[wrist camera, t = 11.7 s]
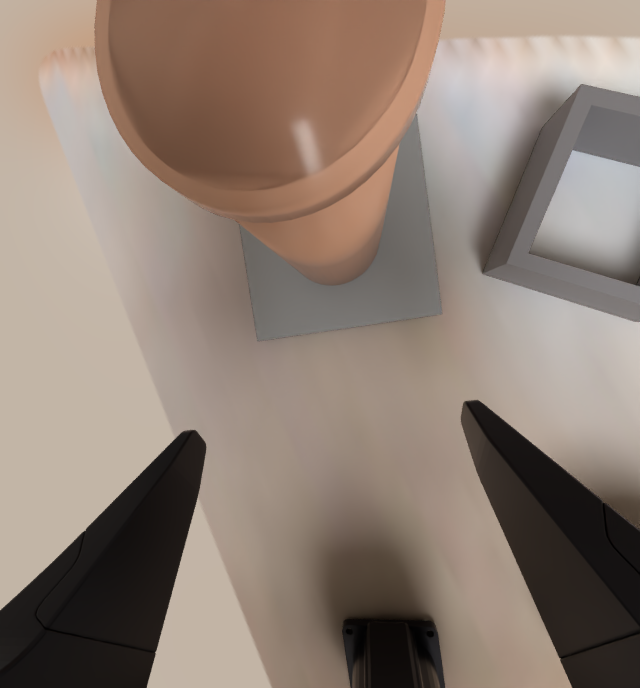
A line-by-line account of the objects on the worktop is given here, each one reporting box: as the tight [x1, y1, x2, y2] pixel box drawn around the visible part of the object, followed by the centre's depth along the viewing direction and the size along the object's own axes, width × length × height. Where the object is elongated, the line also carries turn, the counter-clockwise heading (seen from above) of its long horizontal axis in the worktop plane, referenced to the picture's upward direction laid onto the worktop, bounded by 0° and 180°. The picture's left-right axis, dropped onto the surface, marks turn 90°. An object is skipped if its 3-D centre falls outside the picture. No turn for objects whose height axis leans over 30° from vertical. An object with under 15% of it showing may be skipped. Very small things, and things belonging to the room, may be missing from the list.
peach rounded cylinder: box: [95, 0, 445, 286], centre depth 11 cm, size 8×7×13 cm
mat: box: [239, 114, 442, 341], centre depth 18 cm, size 12×12×1 cm
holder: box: [482, 84, 640, 322], centre depth 15 cm, size 9×9×3 cm
